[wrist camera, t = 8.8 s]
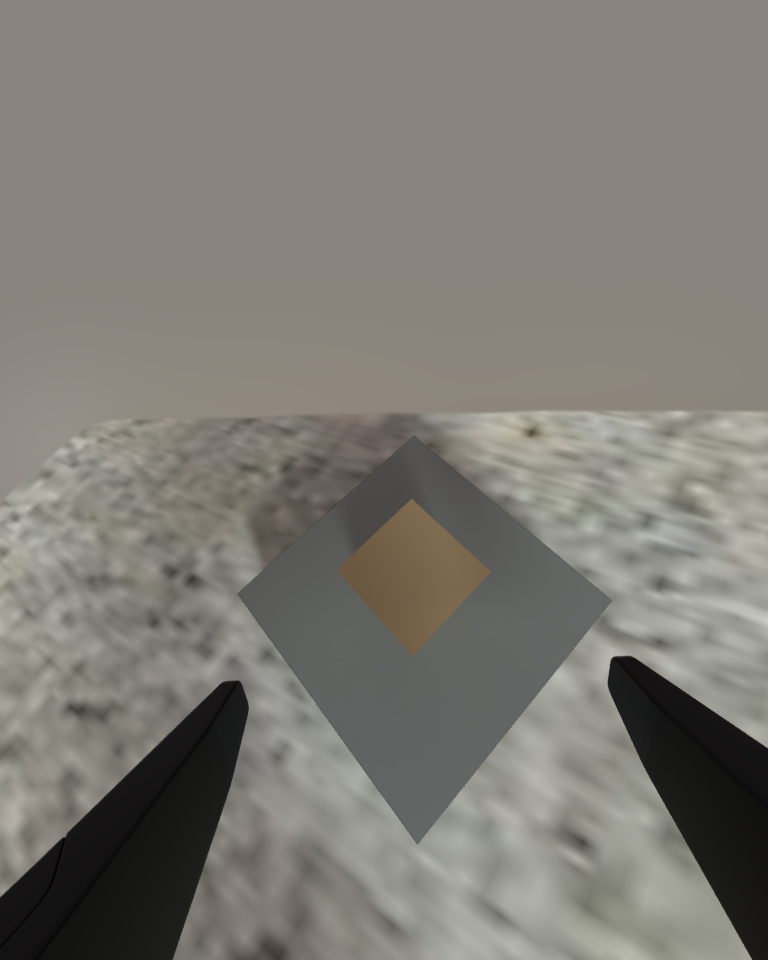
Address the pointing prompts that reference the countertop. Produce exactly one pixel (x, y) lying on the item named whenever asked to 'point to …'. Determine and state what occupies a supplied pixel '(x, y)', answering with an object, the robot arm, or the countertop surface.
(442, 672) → the cover
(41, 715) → the countertop surface
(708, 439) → the countertop surface
